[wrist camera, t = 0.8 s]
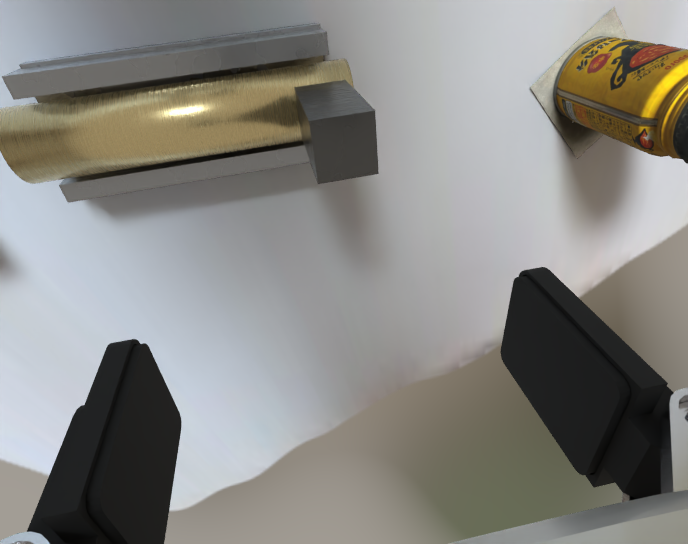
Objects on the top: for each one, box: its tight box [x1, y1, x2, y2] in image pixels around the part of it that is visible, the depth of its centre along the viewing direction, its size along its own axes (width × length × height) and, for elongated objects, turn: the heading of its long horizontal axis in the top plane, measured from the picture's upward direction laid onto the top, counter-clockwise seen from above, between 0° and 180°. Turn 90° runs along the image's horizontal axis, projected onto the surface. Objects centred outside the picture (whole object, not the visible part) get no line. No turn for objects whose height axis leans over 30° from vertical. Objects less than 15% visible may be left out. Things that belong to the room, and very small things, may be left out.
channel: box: [2, 23, 329, 202], centre depth 28 cm, size 8×18×3 cm, turn 96°
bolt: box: [0, 59, 378, 184], centre depth 24 cm, size 4×20×11 cm, turn 96°
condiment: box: [530, 6, 688, 163], centre depth 29 cm, size 7×8×12 cm
